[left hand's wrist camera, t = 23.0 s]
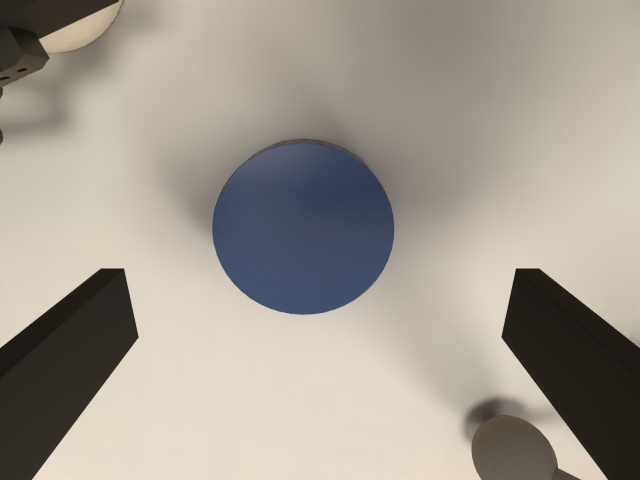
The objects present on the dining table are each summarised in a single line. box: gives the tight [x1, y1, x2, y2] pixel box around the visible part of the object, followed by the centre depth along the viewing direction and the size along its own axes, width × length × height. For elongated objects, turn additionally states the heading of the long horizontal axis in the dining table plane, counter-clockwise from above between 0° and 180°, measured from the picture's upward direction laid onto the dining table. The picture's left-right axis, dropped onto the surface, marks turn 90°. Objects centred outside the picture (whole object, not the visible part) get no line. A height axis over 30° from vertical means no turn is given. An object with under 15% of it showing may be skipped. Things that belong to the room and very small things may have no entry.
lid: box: [213, 139, 394, 315], centre depth 22 cm, size 10×10×2 cm
